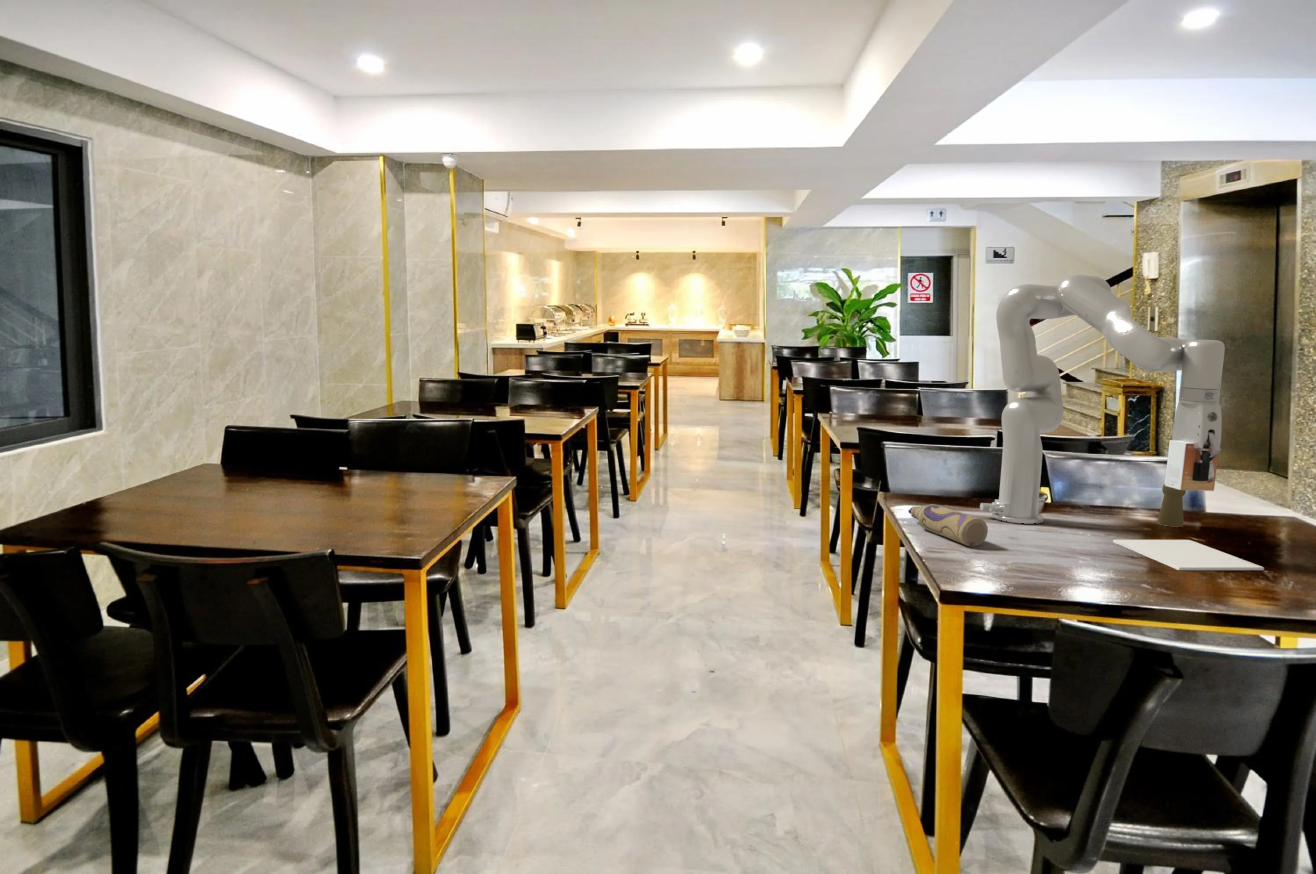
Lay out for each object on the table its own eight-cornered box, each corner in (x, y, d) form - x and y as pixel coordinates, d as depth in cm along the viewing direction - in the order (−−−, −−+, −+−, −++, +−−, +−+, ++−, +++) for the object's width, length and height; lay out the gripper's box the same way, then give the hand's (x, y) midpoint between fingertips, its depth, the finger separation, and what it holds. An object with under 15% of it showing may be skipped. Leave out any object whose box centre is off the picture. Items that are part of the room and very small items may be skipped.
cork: (1180, 523, 229) (1185, 481, 227) (1186, 528, 223) (1190, 486, 221) (1154, 521, 230) (1158, 479, 229) (1159, 526, 225) (1163, 483, 223)
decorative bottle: (989, 546, 201) (991, 518, 200) (960, 548, 198) (962, 519, 198) (924, 520, 225) (925, 495, 224) (898, 522, 223) (899, 496, 222)
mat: (1178, 570, 184) (1179, 567, 184) (1113, 542, 207) (1113, 539, 207) (1263, 570, 186) (1263, 567, 186) (1189, 542, 209) (1189, 539, 209)
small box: (1180, 490, 192) (1185, 443, 191) (1163, 486, 198) (1168, 439, 196) (1215, 491, 193) (1220, 443, 191) (1197, 486, 198) (1202, 440, 197)
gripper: (1244, 400, 184) (1234, 485, 187) (1189, 393, 201) (1180, 471, 204) (1210, 400, 184) (1200, 485, 186) (1157, 392, 201) (1149, 471, 203)
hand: (1190, 477), depth 195 cm, fingers closed on small box, 5 cm apart
